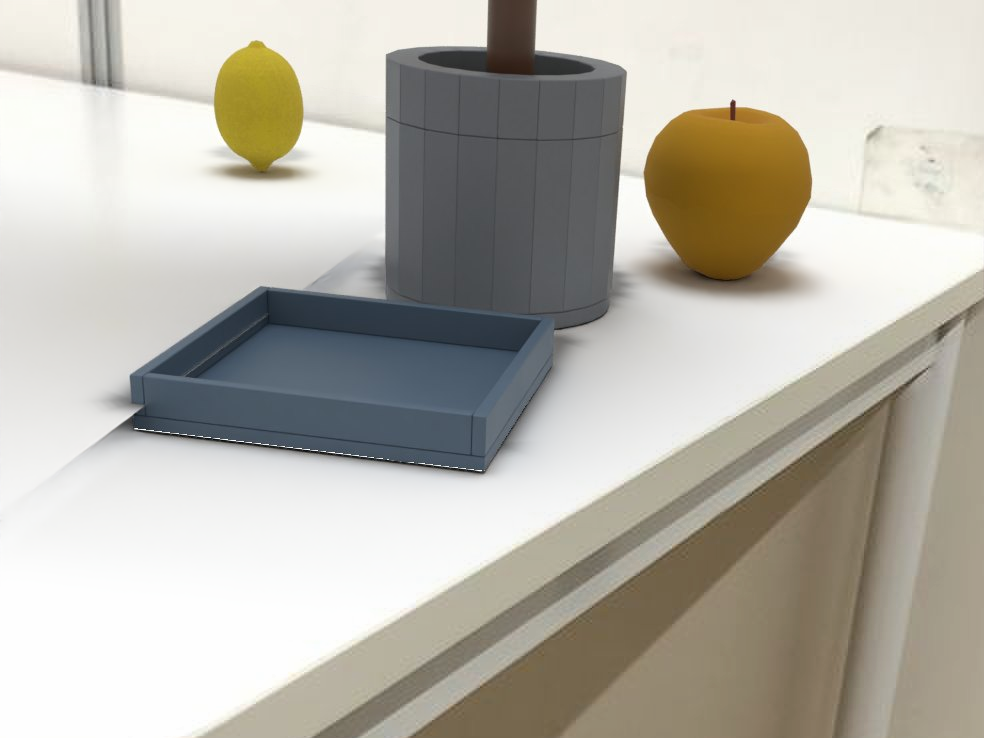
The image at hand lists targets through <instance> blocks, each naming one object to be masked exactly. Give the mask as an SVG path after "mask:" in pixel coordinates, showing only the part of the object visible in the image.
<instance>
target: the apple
mask: <svg viewBox="0 0 984 738" xmlns="http://www.w3.org/2000/svg"><path fill="white" fill-rule="evenodd" d="M643 180H644V188H645V189H644V190H645V198H646V200H647V203H648V206H649V209H650V212H651V214H652V216H653V218H654V220H655V222H656V223H657V225H658V227H659V229H660V230H661V233H662V234H663V236H664V238H665V239H666V241H667V242H668V243H669V245H670V247H671V248H672V249H673V251H674V252H675V253H676V254H677V256H678V257H679V259H680V261H682V262H683V264H684V265H685V266H687V267H688V268H689V269H690V270H693V271H695V272H697V273H699V274H701V275H703V276H705V277H707V278H710V279H713V280H722V281H731V280H740V279H743V278H745V277H748V276H750V275H751V274H753V273H755V272H757V271H758V270H760V269H761V268H762V266H764V265H765V264H766V262H767V261H769V260H770V258H772V256H773V255H774V254H775V253H776V252H777V251H778V250H779V249H780V248H781V247H782V245H783V244H784V243H785V242H786V240H787V239H789V237H790V235H791V234H792V233H793V232H794V231H795V230H796V229H797V227H798V225H800V224H799V223H800V222H801V219H802V217H803V215H804V213H805V212H806V209H807V208H808V205H809V202H810V201H811V199H812V190H813V189H812V188H813V175H812V169H811V163H810V154H809V151H808V148H807V145H805V143H804V141H803V138H802V137H801V135H800V133H799V131H797V130H796V129H795V128H794V127H793V126H792V125H791V124H790V123H789V122H788V121H787V120H785V119H784V118H782V117H781V116H780V115H777V114H775V113H772V112H769V111H766V110H761V109H756V108H753V107H752V108H751V107H746V106H745V107H744V106H737V101H736V100H735V99H731V100H730V102H729V106H726V107H711V108H699V109H697V108H696V109H690V110H687V111H683V112H682V113H680V114H679V115H677V116H676V117H673V118H672V119H671V120H670V121H669V122H668V123H667V124H666V125H665V126H664V127H663V128H662V129H661V130H660V131H659V132H658V134H657V135H656V136H655V137H654V140H653V141H652V143H651V146H650V148H649V150H648V152H647V155H646V160H645V164H644V169H643ZM730 279H731V280H730Z"/></svg>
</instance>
